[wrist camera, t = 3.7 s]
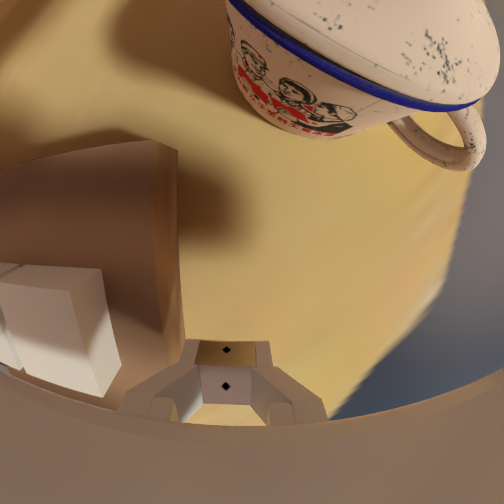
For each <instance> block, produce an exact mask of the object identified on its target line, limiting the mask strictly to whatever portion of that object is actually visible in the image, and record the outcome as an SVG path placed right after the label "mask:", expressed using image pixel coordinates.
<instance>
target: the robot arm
mask: <svg viewBox="0 0 504 504" xmlns="http://www.w3.org/2000/svg"><path fill="white" fill-rule="evenodd" d="M203 403H206V404H234V405H251V407H252V408H253V410H254V411H255V412H256V413H257V414H258V416H259V417H260V418H261V419H262V420H263V422H264V423H265V424H266V425H267V426H219V425H203V424H191V423H185V422H186V421H187V420H188V419H189V418H190V417H191V416H192V415H193V414H194V413H195V412H196V411H197V410H198V409H199V408H200V407H201V406H202V405H203ZM0 504H504V368H502V369H501V370H499V371H497V372H495V373H493V374H491V375H488V376H486V377H484V378H482V379H480V380H477V381H475V382H473V383H471V384H468V385H466V386H463V387H461V388H458V389H456V390H453V391H450V392H448V393H445V394H442V395H439V396H436V397H433V398H430V399H427V400H424V401H421V402H417V403H414V404H411V405H407V406H403V407H400V408H395V409H391V410H387V411H383V412H379V413H374V414H369V415H365V416H359V417H353V418H347V419H342V420H334V421H329V420H328V417H327V414H326V411H325V408H324V405H323V402H322V399H321V398H319V397H318V396H317V395H315V394H314V393H312V392H311V391H309V390H308V389H307V388H305V387H304V386H302V385H301V384H300V383H298V382H297V381H296V380H294V379H293V378H292V377H290V376H289V375H288V374H286V373H285V372H284V371H282V370H281V369H280V368H278V367H273V363H272V356H271V350H270V343H269V341H219V340H203V339H187V340H186V342H185V345H184V348H183V351H182V354H181V357H180V360H179V363H174V364H172V365H170V366H169V367H167V368H165V369H164V370H162V371H160V372H159V373H157V374H155V375H153V376H152V377H150V378H148V379H147V380H145V381H143V382H141V383H140V384H138V385H136V386H134V387H132V388H131V389H129V390H127V391H126V393H125V395H124V397H123V399H122V401H121V403H120V405H119V408H118V410H117V411H113V410H109V409H105V408H101V407H97V406H93V405H90V404H86V403H83V402H80V401H76V400H73V399H70V398H67V397H64V396H61V395H58V394H56V393H53V392H50V391H48V390H45V389H42V388H40V387H37V386H35V385H33V384H30V383H28V382H25V381H23V380H21V379H19V378H17V377H14V376H12V375H10V374H8V373H6V372H4V371H2V370H0Z"/></svg>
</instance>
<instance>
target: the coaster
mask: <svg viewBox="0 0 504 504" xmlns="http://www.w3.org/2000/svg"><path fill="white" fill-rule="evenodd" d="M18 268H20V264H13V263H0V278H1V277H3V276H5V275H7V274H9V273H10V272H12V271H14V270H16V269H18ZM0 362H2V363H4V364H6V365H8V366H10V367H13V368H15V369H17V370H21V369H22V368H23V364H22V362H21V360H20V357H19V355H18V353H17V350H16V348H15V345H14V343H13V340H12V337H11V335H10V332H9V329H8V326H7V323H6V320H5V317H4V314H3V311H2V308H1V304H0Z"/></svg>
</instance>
